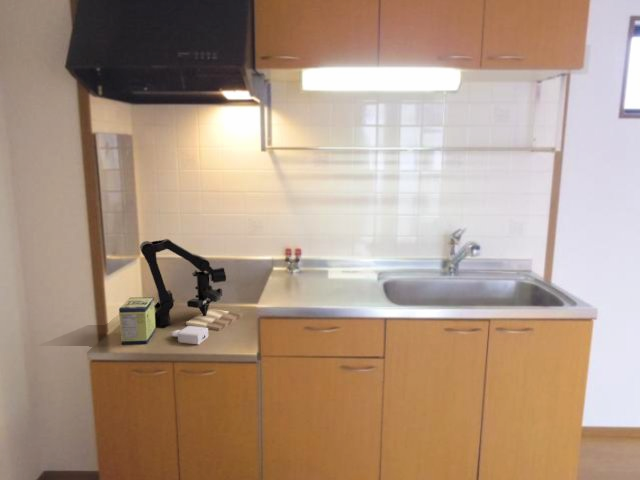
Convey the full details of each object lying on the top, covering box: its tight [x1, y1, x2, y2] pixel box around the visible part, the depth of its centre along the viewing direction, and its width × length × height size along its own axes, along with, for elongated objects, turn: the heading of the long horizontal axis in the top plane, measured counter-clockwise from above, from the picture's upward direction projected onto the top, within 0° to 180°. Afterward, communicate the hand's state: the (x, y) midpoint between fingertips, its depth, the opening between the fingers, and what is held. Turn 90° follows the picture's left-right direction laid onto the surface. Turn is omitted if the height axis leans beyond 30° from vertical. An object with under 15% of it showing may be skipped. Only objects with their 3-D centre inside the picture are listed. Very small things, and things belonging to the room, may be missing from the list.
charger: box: [169, 325, 209, 345], centre depth 196 cm, size 5×9×15 cm
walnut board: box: [206, 311, 243, 332], centre depth 216 cm, size 20×7×2 cm, turn 160°
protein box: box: [118, 296, 156, 345], centre depth 196 cm, size 10×16×16 cm
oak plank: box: [185, 308, 229, 328], centre depth 219 cm, size 20×10×2 cm, turn 160°
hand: (204, 315), depth 220 cm, fingers closed
